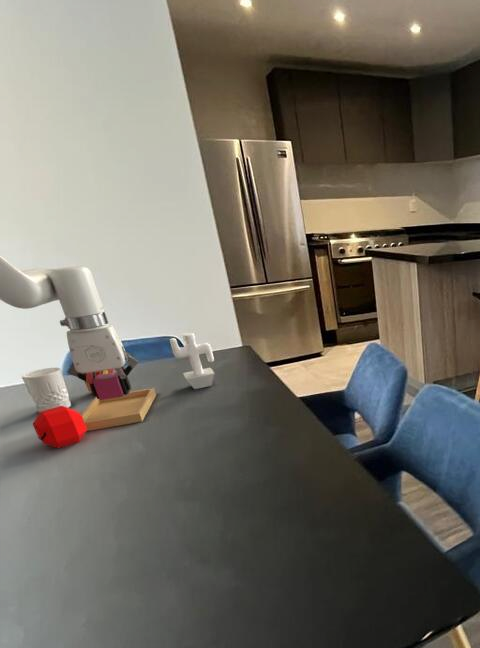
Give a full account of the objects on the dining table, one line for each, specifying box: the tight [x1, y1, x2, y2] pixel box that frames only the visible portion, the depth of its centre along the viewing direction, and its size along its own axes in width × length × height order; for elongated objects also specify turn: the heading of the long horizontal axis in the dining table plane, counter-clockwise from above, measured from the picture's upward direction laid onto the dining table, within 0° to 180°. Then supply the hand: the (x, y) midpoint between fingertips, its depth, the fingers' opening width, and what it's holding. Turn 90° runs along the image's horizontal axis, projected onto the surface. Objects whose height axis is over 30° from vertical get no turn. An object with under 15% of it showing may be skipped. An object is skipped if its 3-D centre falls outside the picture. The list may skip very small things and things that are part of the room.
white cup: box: [21, 367, 72, 413], centre depth 126 cm, size 8×8×10 cm
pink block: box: [93, 371, 125, 400], centre depth 120 cm, size 5×5×5 cm
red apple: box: [32, 406, 88, 449], centre depth 106 cm, size 8×8×8 cm
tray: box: [80, 387, 157, 432], centre depth 122 cm, size 14×20×2 cm
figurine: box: [169, 331, 215, 390], centre depth 136 cm, size 7×9×15 cm
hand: (113, 394), depth 121 cm, fingers closed on pink block, 5 cm apart
